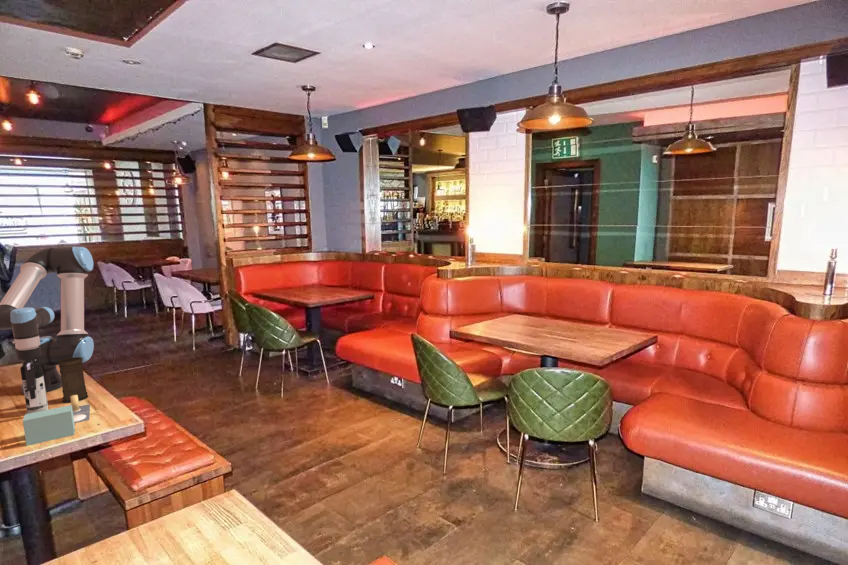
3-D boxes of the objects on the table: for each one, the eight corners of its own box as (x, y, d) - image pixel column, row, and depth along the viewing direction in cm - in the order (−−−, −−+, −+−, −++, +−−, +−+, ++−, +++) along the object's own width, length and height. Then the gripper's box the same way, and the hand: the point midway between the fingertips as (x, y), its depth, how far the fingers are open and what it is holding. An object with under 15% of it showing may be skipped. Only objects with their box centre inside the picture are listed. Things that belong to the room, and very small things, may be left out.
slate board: (37, 417, 185) (34, 400, 184) (90, 406, 194) (87, 390, 193) (31, 435, 170) (29, 416, 169) (89, 422, 179) (87, 404, 178)
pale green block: (28, 438, 167) (25, 414, 166) (75, 428, 175) (71, 404, 173) (26, 445, 162) (22, 420, 160) (74, 434, 169) (70, 411, 168)
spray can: (23, 418, 184) (16, 368, 181) (32, 411, 191) (25, 363, 188) (44, 415, 186) (36, 366, 183) (52, 408, 193) (45, 361, 190)
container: (75, 405, 195) (69, 363, 192) (57, 404, 197) (51, 362, 194) (94, 397, 204) (88, 357, 201) (76, 396, 206) (71, 356, 203)
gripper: (19, 342, 192) (27, 394, 195) (11, 356, 173) (20, 413, 176) (43, 339, 196) (50, 390, 199) (37, 352, 177) (45, 408, 180)
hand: (36, 401), depth 188 cm, fingers open, 11 cm apart
